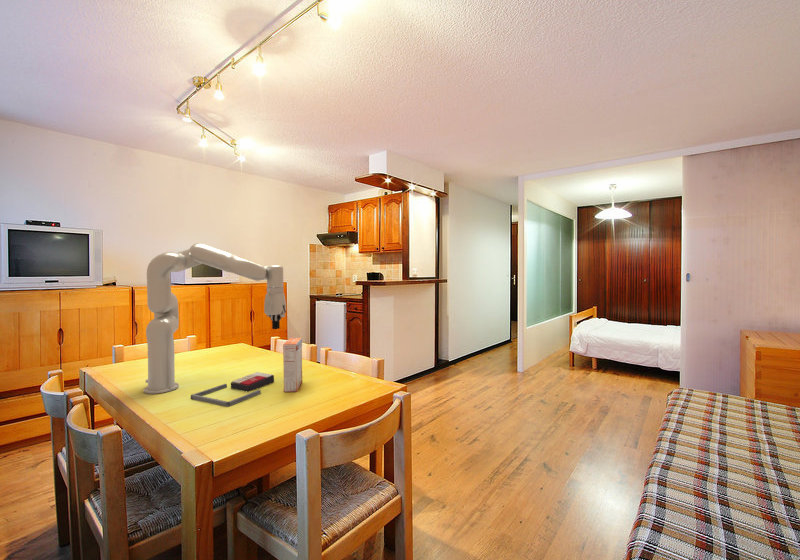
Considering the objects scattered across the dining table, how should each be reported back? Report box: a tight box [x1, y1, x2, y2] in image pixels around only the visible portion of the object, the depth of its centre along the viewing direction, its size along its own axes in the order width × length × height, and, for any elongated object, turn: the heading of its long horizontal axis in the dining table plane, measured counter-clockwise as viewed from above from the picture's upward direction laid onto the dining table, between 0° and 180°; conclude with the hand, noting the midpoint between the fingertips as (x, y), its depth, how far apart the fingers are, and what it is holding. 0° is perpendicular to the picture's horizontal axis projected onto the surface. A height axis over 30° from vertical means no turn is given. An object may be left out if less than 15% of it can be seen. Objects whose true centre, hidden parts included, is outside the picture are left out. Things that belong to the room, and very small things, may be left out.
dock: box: [190, 383, 262, 408], centre depth 142 cm, size 21×16×2 cm
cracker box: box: [282, 337, 303, 393], centre depth 154 cm, size 14×6×21 cm, turn 6°
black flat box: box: [230, 371, 275, 393], centre depth 156 cm, size 11×4×15 cm
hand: (275, 328), depth 167 cm, fingers closed
